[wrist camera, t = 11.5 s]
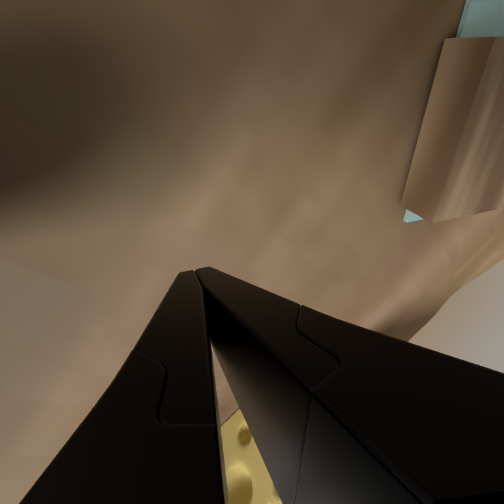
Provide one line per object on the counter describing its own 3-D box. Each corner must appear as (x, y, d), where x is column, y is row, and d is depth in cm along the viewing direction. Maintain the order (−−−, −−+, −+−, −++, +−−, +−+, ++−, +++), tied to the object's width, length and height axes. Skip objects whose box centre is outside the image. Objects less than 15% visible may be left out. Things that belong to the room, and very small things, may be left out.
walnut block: (431, 223, 24) (538, 200, 27) (495, 36, 18) (626, 35, 21) (399, 205, 27) (500, 186, 30) (445, 38, 20) (567, 36, 24)
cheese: (253, 388, 35) (292, 487, 27) (308, 403, 41) (352, 487, 34) (197, 444, 37) (218, 549, 29) (258, 450, 44) (288, 539, 36)
